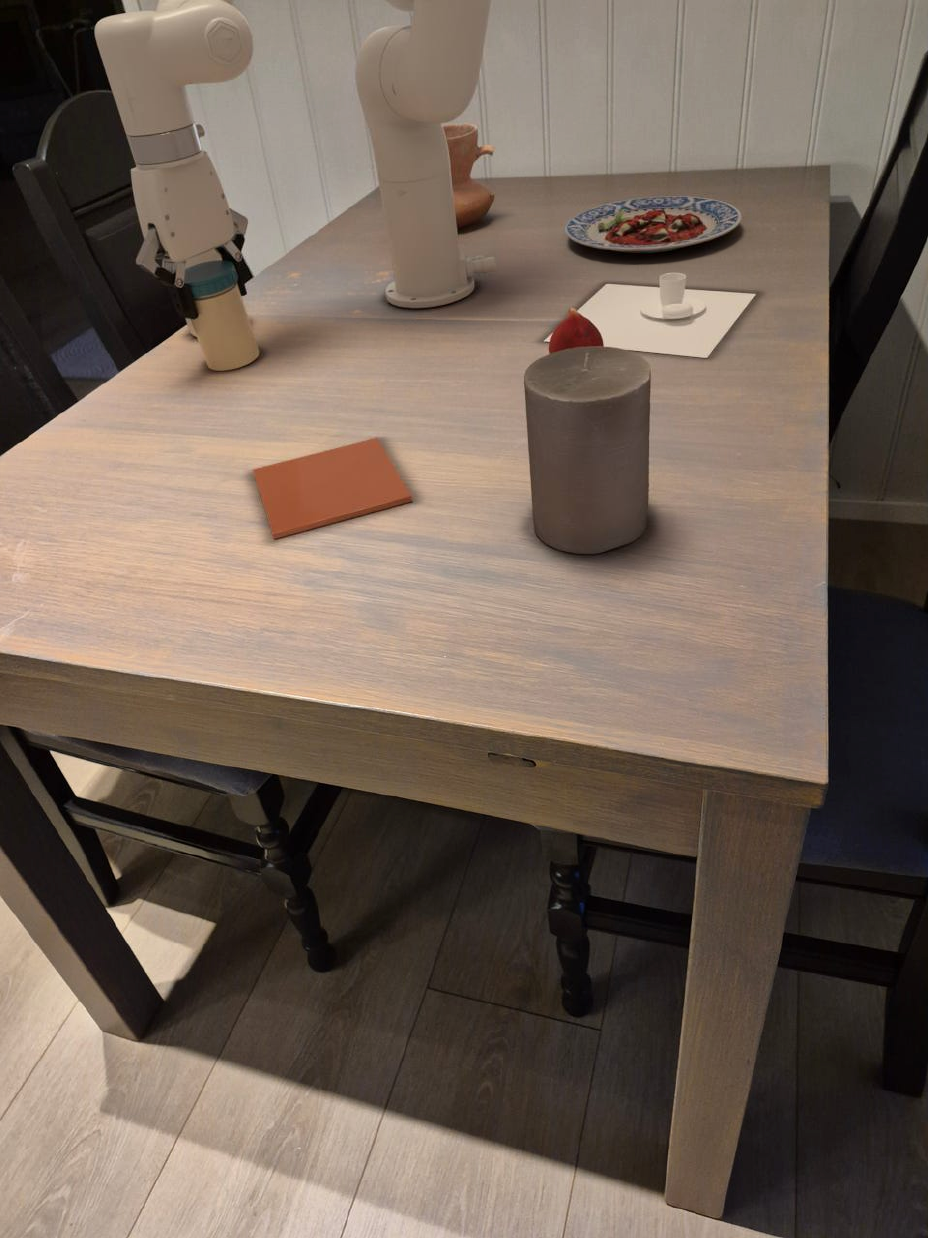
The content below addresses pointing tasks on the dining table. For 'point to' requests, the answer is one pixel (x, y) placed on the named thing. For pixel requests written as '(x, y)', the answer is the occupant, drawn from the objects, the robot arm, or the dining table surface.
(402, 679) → the dining table surface
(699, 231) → the ceramic plate
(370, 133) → the robot arm
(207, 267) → the lid
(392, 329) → the dining table surface
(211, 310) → the jar
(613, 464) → the pillar candle
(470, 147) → the ceramic jug
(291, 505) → the tile
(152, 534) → the dining table surface
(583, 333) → the onion
